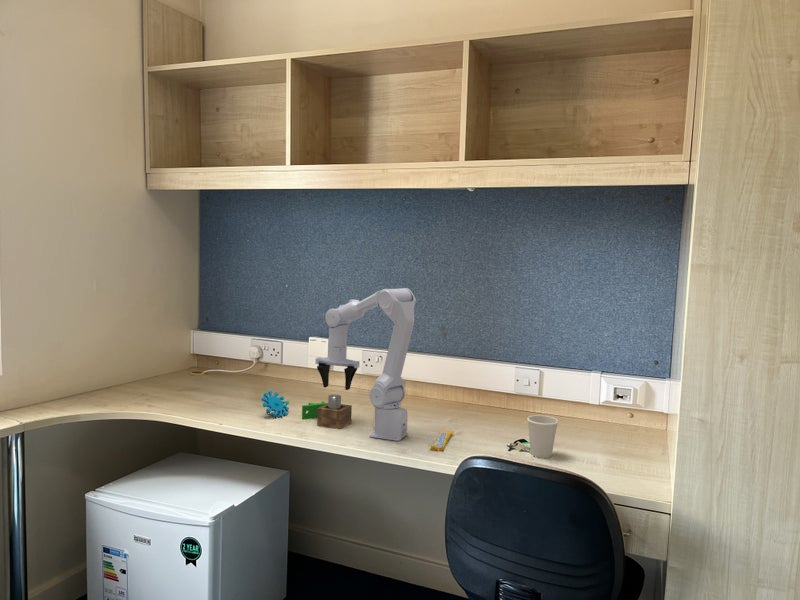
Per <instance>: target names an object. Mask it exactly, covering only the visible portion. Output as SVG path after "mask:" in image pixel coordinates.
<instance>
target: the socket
mask: <svg viewBox="0 0 800 600" xmlns="http://www.w3.org/2000/svg"><path fill="white" fill-rule="evenodd" d="M326 403H327V404H325V405H323V406H321V407H319V408H317V418H316V424H317V425H316V426H318V427H322V426H323V427H324V428H329V429H330V428H332V429H336V428H337V429H338V430H341V429H343V428H345V427H346V426H348V425H350V424H351V423H352V415H353V412H352V409H353V408H352V407H353V405H352V404H343V403H341V409H339V410H336V409H328V402H326ZM344 426H345V427H344Z"/></svg>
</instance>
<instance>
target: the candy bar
mask: <svg viewBox="0 0 800 600" xmlns="http://www.w3.org/2000/svg"><path fill="white" fill-rule="evenodd" d="M454 433H455V432H454V431H450V430H440V431H439V434H438V436H437V438H436V439H435V442H434V443H433V444H432V445H430V451H432V450H439V451H438V452H444V451H445V449H446V447H447V445H448V443H449V441H450V440H449V439H451V438H452V435H453V436H454ZM450 437H451V438H450ZM447 442H448V443H447ZM446 444H447V445H446ZM445 446H446V447H445Z"/></svg>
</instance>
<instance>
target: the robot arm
mask: <svg viewBox="0 0 800 600" xmlns="http://www.w3.org/2000/svg"><path fill="white" fill-rule="evenodd" d="M416 302H417V299H416V297H415V295H414V294H413V291H412V290H411V289H410V288H407V287H403V288H384V289H381V290H377V291H376V292H375V293H373V294H371V295H369V296H368V297H365V298H364V299H362V300H358V299H354V298H352V299H349V300H348V302H347V303H345V304H340V305H339V306H338V307H337V308H329V309H328V310H327V311H326V313H325V319H324V320H325V322H326V324H327V326H328V355H327V356H328V357H321V356H320V357H315V365H317V366H316V369H317V370H318V374H319V375H320V379H321V380H322V386H323V388H327V387H329V382H330V381H329V380H330V379H329V378H330V377H329V375H330V368H331V366H336V367H345V368H343V370H344V377H345V378H344V379H345V383H344V389H345V391H349V390H350V388H351V386H352V382H353V379H354V376H355V374H356V372H357V371H358V369H359V368H360V360H359V361H358V360H355V359H354V360H353V359H349V358H348V359H347V349H348V347H347V346H348V345H347V344H348V331H349V328H350V325H351V322H354V321H357V320H359V319H360V318H363V317H364V315H365V314H366V313H365V312H366V311H367V312H368V311H369V310H372V309H374V308H377V307H379V308H380V309H381V310H382V311H383V312H384V314H385V315H386V316H387V317H388V319H390V320H391V321H392V323H393V329H392V333H391V337H390V340H389V345H388V349H387V352H386V357H385V361H384V366H383V369H382V373H381V374H380V375H379V376H378V377H377V378H376V379H375V380H374V384H373V386H372V388H370V391H369V401H370V403H371V404H372V405H373V407H374V425H373V426H374V427H373V428H374V429H373V432H371V433H370V434H369V438H376V439H380V440H381V439H383V440H388V441H389V440H390V441H396V442H398V441H399V442H400V441H401V440H402V439H404V437H406V435H408V434H409V433H408V409H407V408H405V407H401V405H402V402H403V400H404V399H405V397H406V396H405V395H406V390H405V385H406V381H405V380H404V379H403V378H402V374H403V370H404V365H405V362H406V358H407V354H408V350H409V346H410V342H411V339H412V338H411V337H412V334H413V329H414V326H415V307H416V306H415V305H416Z"/></svg>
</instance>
